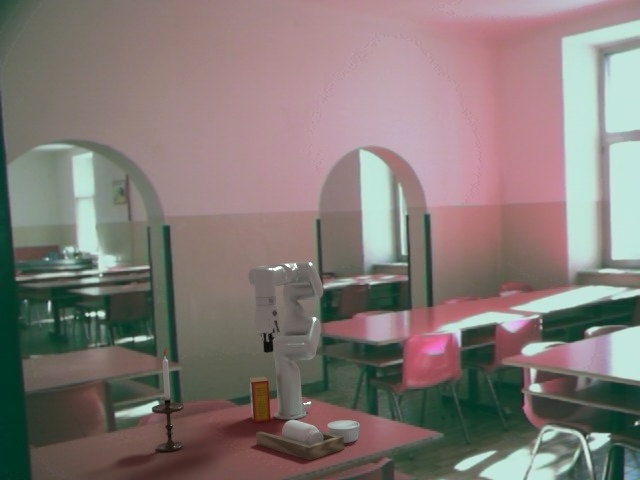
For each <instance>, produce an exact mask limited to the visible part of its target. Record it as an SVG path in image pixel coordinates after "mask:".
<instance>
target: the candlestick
mask: <svg viewBox="0 0 640 480" xmlns="http://www.w3.org/2000/svg"><path fill="white" fill-rule="evenodd" d="M167 348H168V347H165V349H164V352H163V356H164V357H163V360H162V373H163V374H162V375H163V377H162V379H163V392H164V397H163V398H162V399H161V401H164V403H161V404H157V405H154V406H152V407H151V412H152V413H153V414H164V415H165V416H166V425H164V428H165V430H166V433H165V435H166V436H167V441H166V442H163V443H160V444H159V445H157V446H156V451H157V452H159V453H171V452H172V453H173V452H177V451H181V450H182V449H184V446H185V445H184V443H183V442H182V441H174V440H173V438H172V437H173V434H174V432H173V431H172V430H173V428H174V425H173V423H172V419H171V414H173V413H176V412H180V411H183V410H184V409H185V404H184V403H181V402H172V401H171V400H174V398H173V397H171V390H170V389H171V388H170V387H171V386H170V376H169V375H170V373H169V370H170V369H169V359H167V356H166V355H167V350H168V349H167Z"/></svg>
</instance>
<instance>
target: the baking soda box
mask: <svg viewBox="0 0 640 480" xmlns="http://www.w3.org/2000/svg"><path fill="white" fill-rule="evenodd" d="M248 380H249V395H250V411H251V412H250V413H251V419H252V422H253V424H257V423H259V424H260V423H265V422H266V423H268V422H271V421H272V419H271V417H272V416H271V403H270V401H271V400H270V385H269V380H268V377H267V376H255V377H249V378H248Z"/></svg>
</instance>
